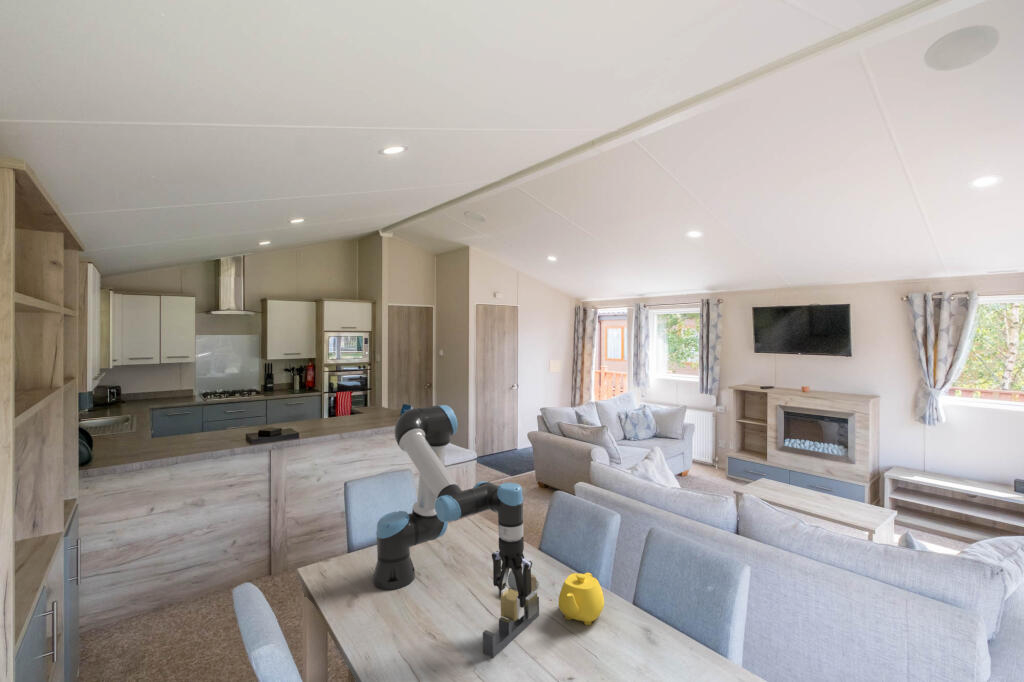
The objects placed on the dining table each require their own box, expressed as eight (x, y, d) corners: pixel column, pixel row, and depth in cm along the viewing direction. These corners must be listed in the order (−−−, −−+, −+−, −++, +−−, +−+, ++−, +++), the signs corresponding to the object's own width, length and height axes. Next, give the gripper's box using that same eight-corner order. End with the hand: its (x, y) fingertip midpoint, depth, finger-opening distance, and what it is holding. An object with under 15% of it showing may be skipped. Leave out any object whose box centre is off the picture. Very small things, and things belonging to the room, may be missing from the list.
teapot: (610, 606, 156) (610, 568, 156) (590, 641, 139) (589, 598, 138) (571, 596, 163) (570, 559, 163) (547, 628, 145) (546, 587, 145)
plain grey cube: (515, 614, 149) (515, 595, 149) (524, 606, 153) (524, 588, 153) (528, 619, 146) (528, 600, 146) (537, 611, 150) (537, 592, 150)
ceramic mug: (523, 600, 161) (523, 577, 161) (507, 591, 167) (507, 569, 167) (544, 588, 168) (544, 567, 168) (528, 580, 174) (528, 559, 174)
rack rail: (483, 653, 134) (482, 632, 134) (529, 611, 154) (529, 593, 154) (493, 658, 132) (492, 636, 132) (539, 615, 152) (538, 596, 152)
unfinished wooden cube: (500, 615, 142) (500, 596, 142) (510, 607, 146) (510, 588, 146) (514, 621, 140) (514, 601, 139) (524, 613, 144) (523, 593, 143)
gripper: (479, 534, 145) (481, 610, 145) (529, 548, 134) (530, 630, 135) (494, 525, 151) (496, 598, 151) (543, 539, 140) (544, 617, 141)
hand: (512, 613), depth 143 cm, fingers closed on unfinished wooden cube, 5 cm apart
